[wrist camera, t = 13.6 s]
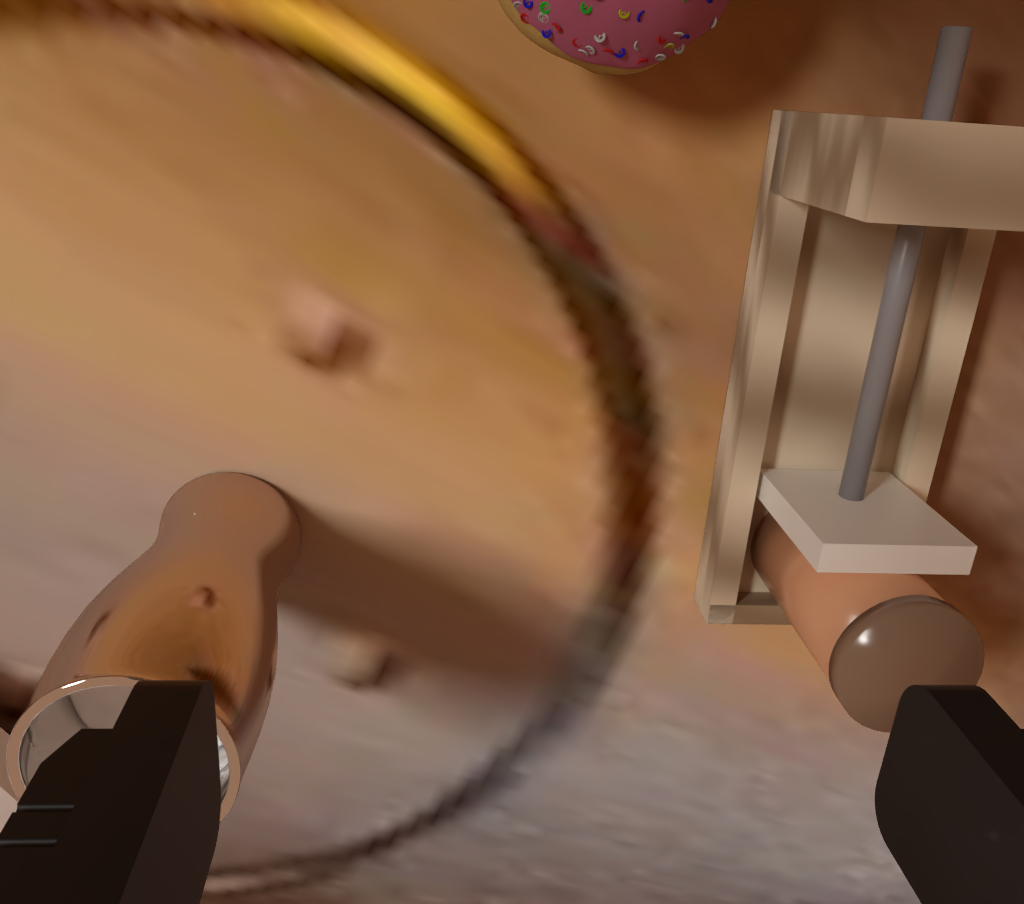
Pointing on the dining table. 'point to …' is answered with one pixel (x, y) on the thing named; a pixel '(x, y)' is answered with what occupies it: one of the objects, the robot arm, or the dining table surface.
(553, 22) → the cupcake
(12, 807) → the white vase
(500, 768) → the dining table surface
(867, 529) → the pusher
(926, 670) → the jar
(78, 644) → the beer glass
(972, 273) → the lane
